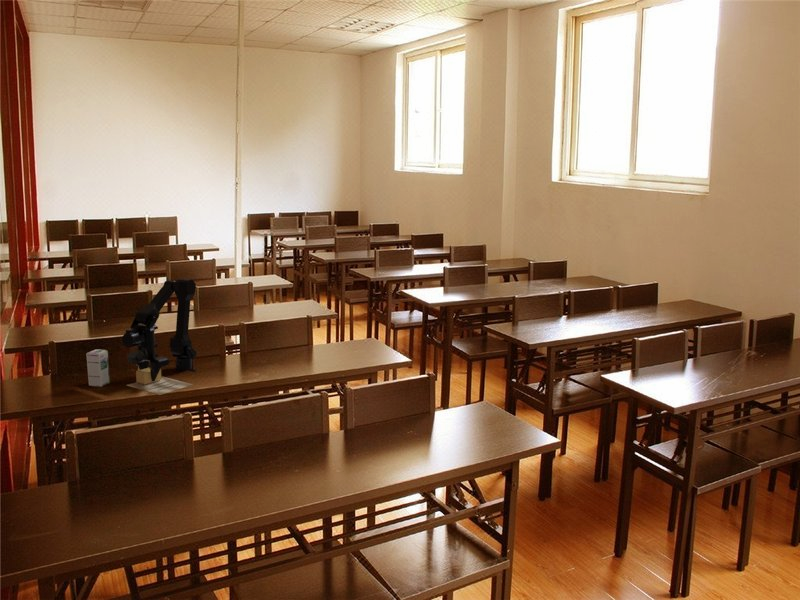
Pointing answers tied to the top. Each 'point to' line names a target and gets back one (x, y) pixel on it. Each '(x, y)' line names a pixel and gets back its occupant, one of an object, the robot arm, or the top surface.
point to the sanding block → (146, 376)
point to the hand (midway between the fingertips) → (149, 379)
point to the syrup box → (98, 367)
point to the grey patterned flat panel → (161, 386)
